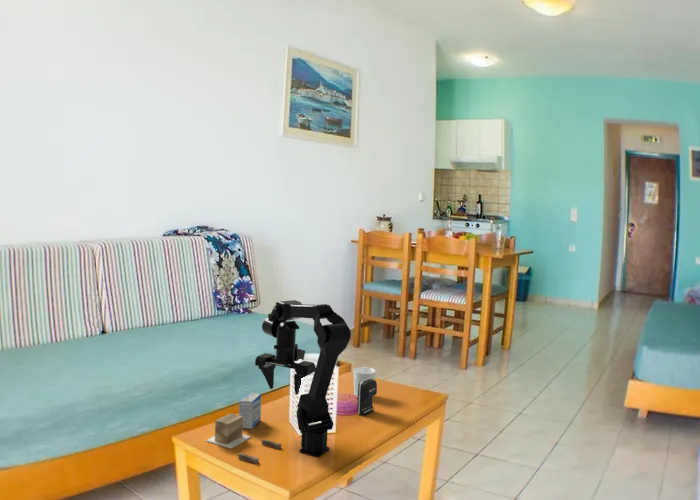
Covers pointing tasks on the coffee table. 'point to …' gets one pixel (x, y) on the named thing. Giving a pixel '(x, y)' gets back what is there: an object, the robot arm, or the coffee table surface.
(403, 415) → the coffee table surface
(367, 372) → the white cup
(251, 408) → the medicine box
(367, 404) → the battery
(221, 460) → the coffee table surface
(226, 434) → the block
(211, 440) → the plate
